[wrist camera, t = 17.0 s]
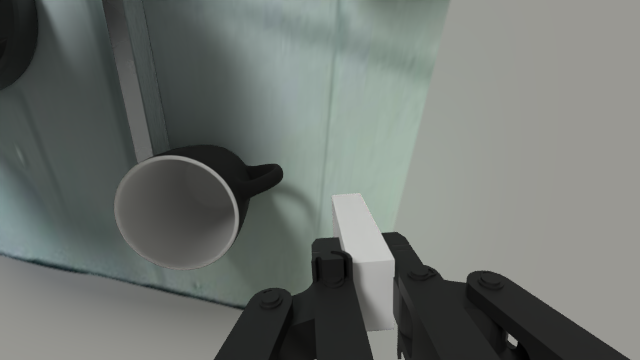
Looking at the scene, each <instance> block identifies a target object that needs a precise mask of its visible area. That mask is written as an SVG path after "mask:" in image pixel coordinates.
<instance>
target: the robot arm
mask: <svg viewBox="0 0 640 360" xmlns="http://www.w3.org/2000/svg"><path fill="white" fill-rule="evenodd" d="M37 30H38V27H37V14H36V8H35V4H34V0H0V90H1V89H3V88H5V87H7V86H8V85H10V84H11V83H13V82H14V81H15V80H16V79H18V78H19V77H20V75H21V74H22V73H23V72H24V71H25V69H26V68H27V66H28V64H29V63H30V61H31V58H32V56H33V53H34V50H35V46H36V41H37ZM332 216H333V236H334V237H333V238H320V239H316V240H315V241H314V242H313V244H312V261H311V263H312V277H313V283H312V284H311V286H310V287H309V288H308V289H307V290H305V291H304V292H302V293H299V294H297V295H294V296H291V294H290V293H289V292H288V291H286V290H285V289H280V288H269V289H265V290H262V291H260V292H258V293H257V294H255V295H254V296H253V297H252V298H251V299H250V301H249V303H248V304H247V306H246V308H245V309H244V311H243V312H242V314H241V316H240V317H239V319H238V321H237V323H236V324H235V326H234V327H233V329H232V331H231V332H230V334H229V336H228V337H227V339H226V341H225V342H224V344H223V345H222V347H221V349H220V350H219V352H218V354H217V355H216V357H215V359H214V360H314V359H317V360H373V356H372V352H371V348H370V344H369V340H368V336H367V331H379V330H391V329H394V318H395V320H396V323H397V325H398V343H397V344H398V345H397V355H398V359H401V352H403V355H404V358H405V360H630V359H628V358H627V357H626V356H624V355H622V354H621V353H619V352H618V351H616V350H615V349H613V348H612V347H610V346H609V345H607V344H606V343H604V342H603V341H601V340H600V339H598V338H597V337H595V336H594V335H592V334H591V333H589V332H588V331H586V330H585V329H583V328H582V327H580V326H579V325H577V324H576V323H574V322H573V321H571V320H570V319H568V318H567V317H565V316H564V315H562V314H561V313H559V312H558V311H556V310H555V309H553V308H552V307H550V306H549V305H547V304H546V303H544V302H543V301H541V300H540V299H538V298H537V297H535V296H533V295H532V294H531V293H529V292H527V291H526V290H525V289H523V288H522V287H520V286H519V285H517V284H516V283H514V282H512V281H511V280H509V279H508V278H506V277H504V276H502V275H500V274H497V273H494V272H491V271H475V272H472V273H470V274H469V275H468V277H467V282H466V283H462V282H454V281H448V280H444V279H443V278H442V277H441V275H440V274H439V273H438V272H437V271H436V270H435V269H433V268H431V267H429V266H426V265H423V264H422V262H421V260H420V259H419V257H418V256H417V254H416V253H415V251H414V250H413V249H412V247H411V245H409V242H408V241H407V239H406V238H405V237H404V236H402V235H401V234H399V233H398V232H389V233H381V232H380V230H379V229H378V227H377V225H376V223H375V221H374V219H373V217H372V215H371V213H370V211H369V209H368V207H367V205H366V204H365V202H364V200H363V198H362V196H361V194H360V193H355V194H340V195H332ZM508 334H510V335H511V336H513V337H514V338H515V339H516V340H517V341H518V344H517V347H516V346H514V345H512V344H511V343H510V342H509V341H508Z"/></svg>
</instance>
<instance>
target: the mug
mask: <svg viewBox="0 0 640 360" xmlns="http://www.w3.org/2000/svg"><path fill="white" fill-rule="evenodd" d="M282 178H283V170H282V168H281V167H280V166H279V165H278V164H265V165H259V166H246V165H245V164H244V163H243V162H242V160H241V159H240V158H239V157H238V156H237V155H235V154H234V153H233V152H231V151H229V150H227V149H225V148H222V147H218V146H213V145H195V146H188V147H182V148H178V149H174V150H170V151H166V152H163V153H160V154H157V155H155V156H152V157H150V158H148V159H145V160H143V161H142V162H140V163H138V164H137V165H135V166H134V167H133V168H132V169H130V170H129V171H128V172H127V173H126V175H125V176H124V177H123V179H122V180H121V182H120V184H119V186H118V188H117V191H116V194H115V199H114V214H115V219H116V223H117V226H118V228H119V230H120V232H121V234H122V236H123V238H124V239H125V241H126V242H127V243H128V244H129V246H130V247H131V248H132V249H133V250H134V251H135V252H137V253H138V254H139V255H140V256H142V257H143V258H145V259H146V260H148V261H150V262H152V263H154V264H156V265H159V266H162V267H165V268H169V269H175V270H191V269H197V268H201V267H204V266H207V265H209V264H211V263H213V262H215V261H216V260H218V259H219V258H221V257H222V256H223V255H224V254H225V253H226V252H227V251H228V250H229V249H230V247H231V246H232V244H233V243H234V241H235V240H236V238H237V236H238V234H239V232H240V229H241V227H242V225H243V222H244V219H245V216H246V213H247V209H248V205H249V201H250V198H251V197H253V196H255V195H257V194H259V193H261V192H264V191H266V190H268V189H270V188H272V187H274V186H275V185H277V184H278V183H279V182H280V181H281V180H282Z"/></svg>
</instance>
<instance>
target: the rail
mask: <svg viewBox="0 0 640 360" xmlns="http://www.w3.org/2000/svg"><path fill="white" fill-rule="evenodd" d="M102 3H103V8H104V12H105V17H106V21H107V26H108V30H109V35H110V39H111V44H112V49H113V53H114V58H115V62H116V67H117V71H118V76H119V81H120V85H121V90H122V94H123V99H124V103H125V108H126V112H127V117H128V122H129V126H130V131H131V135H132V140H133V144H134V149H135V153H136V158H137V163H140V162H142V161H143V160H145V159H148V158H150V157H152V156H155V155H157V154H160V153H163V152H166V151H170V146H169V141H168V135H167V130H166V125H165V119H164V114H163V109H162V103H161V98H160V93H159V87H158V82H157V77H156V71H155V66H154V61H153V56H152V50H151V45H150V40H149V34H148V29H147V24H146V18H145V13H144V8H143V2H142V0H102Z"/></svg>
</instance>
